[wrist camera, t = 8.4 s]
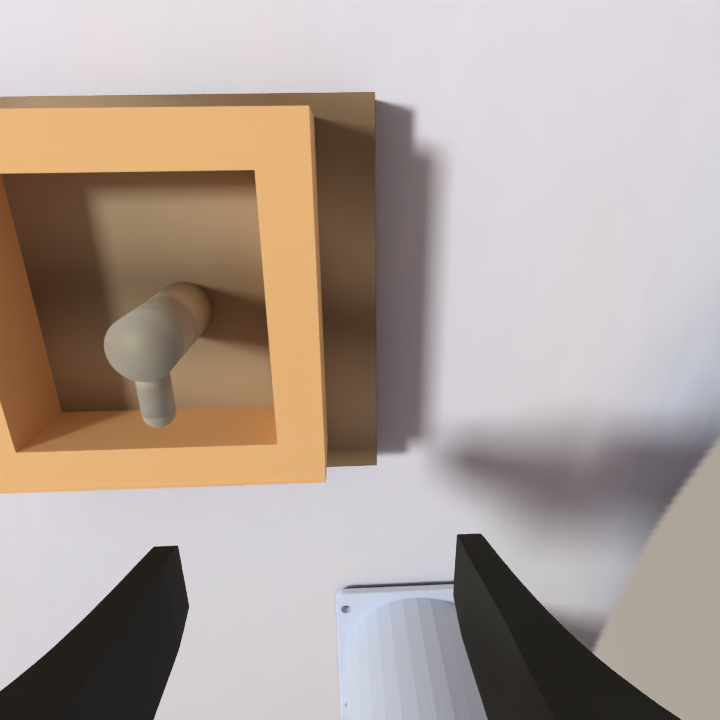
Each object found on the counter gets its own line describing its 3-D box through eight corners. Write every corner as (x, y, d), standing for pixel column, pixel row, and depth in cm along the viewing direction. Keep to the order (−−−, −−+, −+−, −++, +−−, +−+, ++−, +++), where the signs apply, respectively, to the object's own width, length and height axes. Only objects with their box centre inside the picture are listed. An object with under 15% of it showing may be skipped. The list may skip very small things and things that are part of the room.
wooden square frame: (327, 439, 20) (325, 482, 18) (30, 448, 20) (-20, 494, 17) (314, 116, 16) (308, 105, 13) (-64, 121, 16) (-151, 110, 13)
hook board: (374, 446, 22) (386, 538, 17) (58, 457, 22) (-38, 555, 16) (371, 98, 17) (387, 64, 12) (-38, 103, 17) (-224, 71, 11)
